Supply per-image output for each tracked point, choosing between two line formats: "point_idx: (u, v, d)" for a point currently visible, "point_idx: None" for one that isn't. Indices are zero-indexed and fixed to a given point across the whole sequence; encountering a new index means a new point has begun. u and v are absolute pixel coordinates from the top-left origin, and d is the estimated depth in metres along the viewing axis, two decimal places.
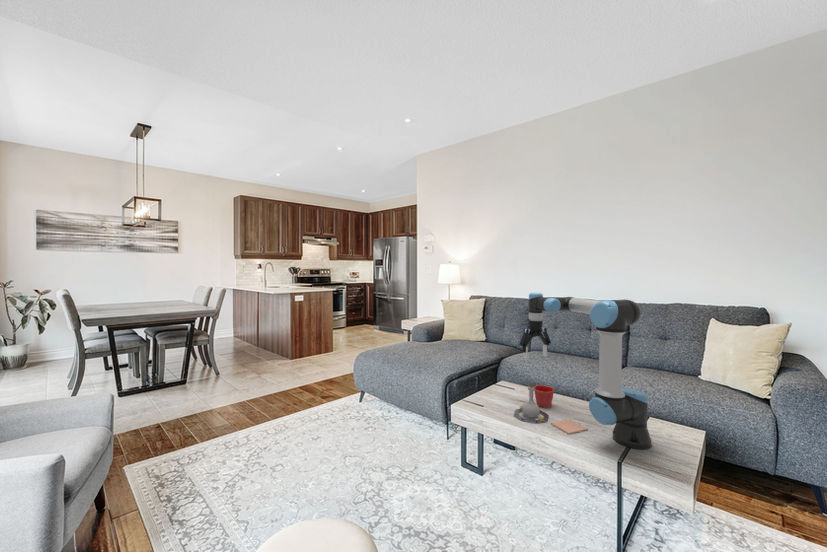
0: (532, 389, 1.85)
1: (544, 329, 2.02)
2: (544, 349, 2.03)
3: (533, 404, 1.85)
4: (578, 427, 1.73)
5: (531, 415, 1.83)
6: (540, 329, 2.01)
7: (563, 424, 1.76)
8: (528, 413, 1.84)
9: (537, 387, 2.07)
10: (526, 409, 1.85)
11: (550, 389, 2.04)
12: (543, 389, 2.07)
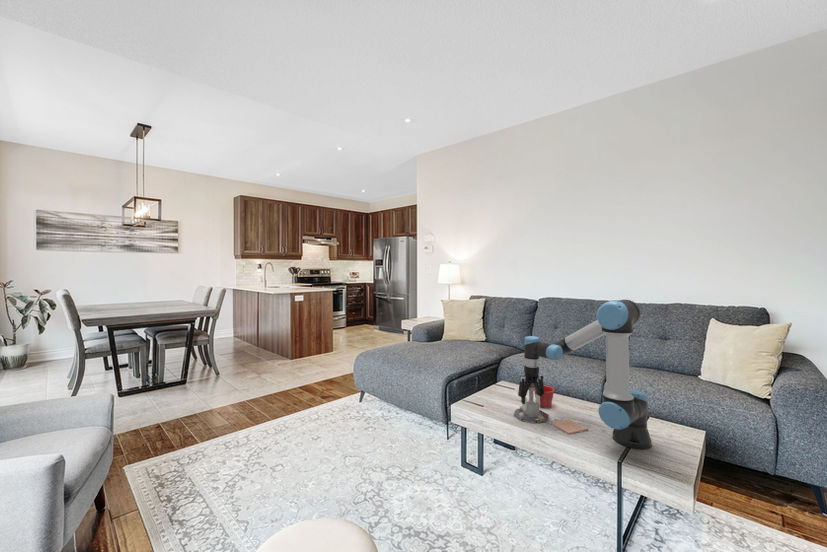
0: (532, 389, 1.85)
1: (541, 377, 1.88)
2: (537, 400, 1.89)
3: (533, 404, 1.85)
4: (578, 427, 1.73)
5: (531, 415, 1.83)
6: (537, 375, 1.87)
7: (563, 424, 1.76)
8: (528, 413, 1.84)
9: None
10: None
11: (550, 389, 2.04)
12: None
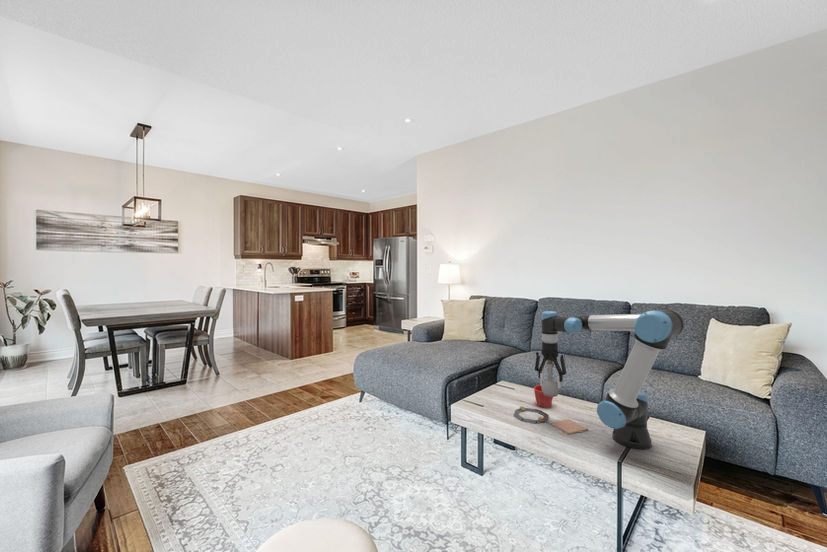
0: (548, 365, 1.79)
1: (560, 356, 1.76)
2: None
3: (548, 381, 1.79)
4: (578, 427, 1.73)
5: (543, 391, 1.79)
6: (554, 353, 1.78)
7: (563, 424, 1.76)
8: (542, 388, 1.80)
9: (537, 387, 2.07)
10: (542, 384, 1.82)
11: None
12: None
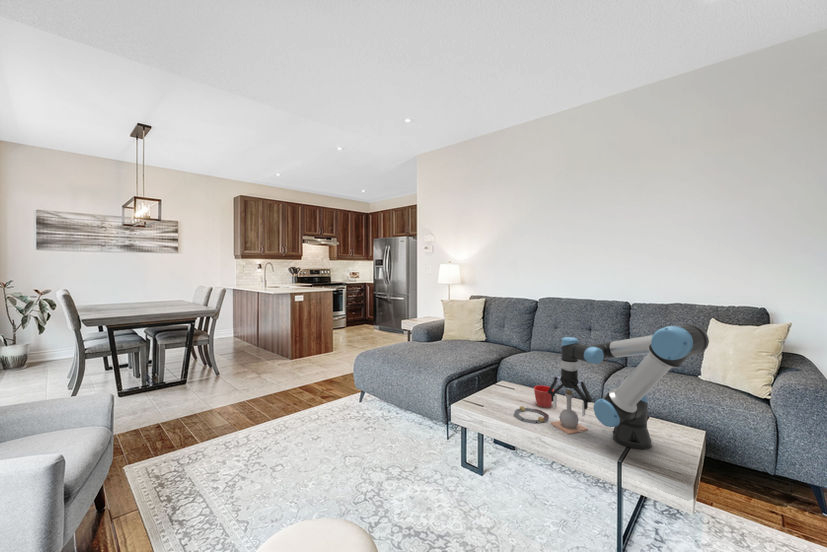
0: (567, 396, 1.73)
1: (581, 383, 1.70)
2: None
3: (567, 412, 1.73)
4: (578, 427, 1.73)
5: (562, 422, 1.73)
6: (574, 381, 1.72)
7: None
8: (560, 419, 1.75)
9: (537, 387, 2.07)
10: (560, 414, 1.76)
11: None
12: (543, 389, 2.07)
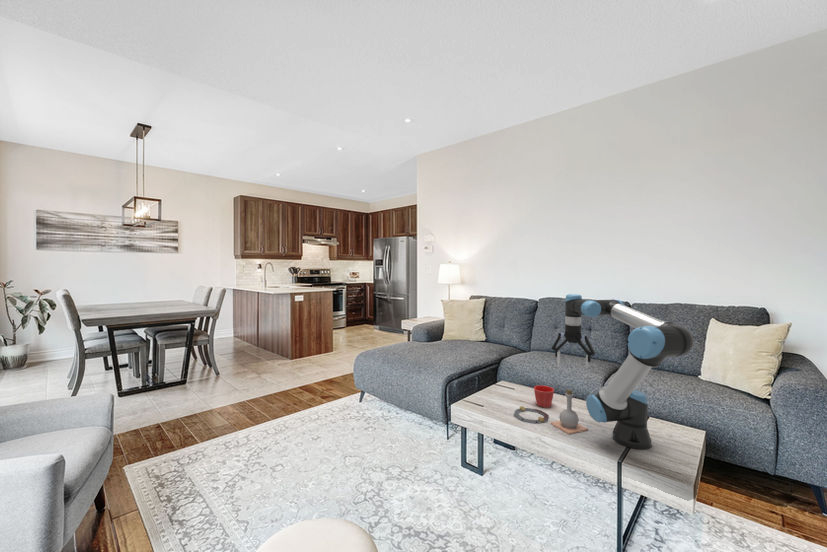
0: (567, 396, 1.73)
1: (584, 337, 1.76)
2: (586, 360, 1.77)
3: (567, 412, 1.73)
4: (578, 427, 1.73)
5: (562, 422, 1.73)
6: (578, 336, 1.78)
7: None
8: (560, 419, 1.75)
9: (537, 387, 2.07)
10: (560, 414, 1.76)
11: (550, 389, 2.04)
12: (543, 389, 2.07)
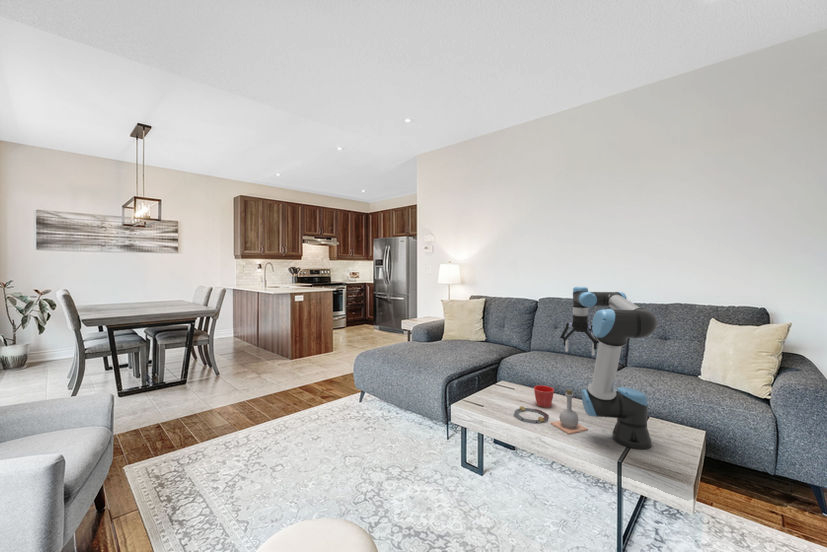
0: (567, 396, 1.73)
1: (590, 326, 1.90)
2: None
3: (567, 412, 1.73)
4: (578, 427, 1.73)
5: (562, 422, 1.73)
6: (584, 325, 1.92)
7: None
8: (560, 419, 1.75)
9: (537, 387, 2.07)
10: (560, 414, 1.76)
11: (550, 389, 2.04)
12: (543, 389, 2.07)
